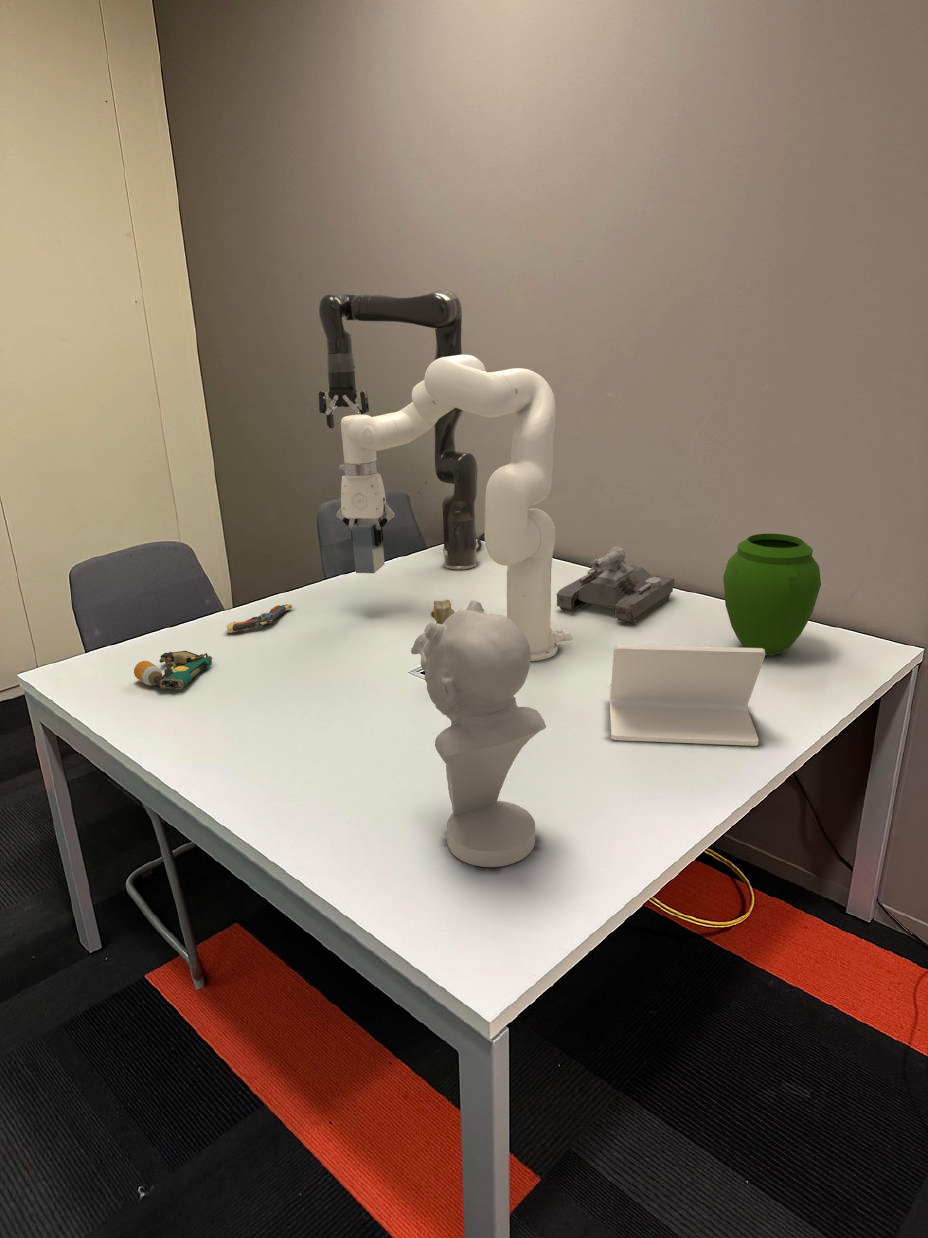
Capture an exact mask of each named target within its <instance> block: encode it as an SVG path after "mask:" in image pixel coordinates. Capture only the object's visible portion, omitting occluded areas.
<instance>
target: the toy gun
mask: <svg viewBox="0 0 928 1238" xmlns="http://www.w3.org/2000/svg"><path fill="white" fill-rule="evenodd" d="M292 608H293V604H292V603H286V604H281V605H280V604H278V605H275V606H274V607H272V608H270V610H269V612H263V613H261V614H260V615H259V616H258V615H257V616H252V617H251V618H248V619H247V620H245V621H239V622H236V621H232V622H230V623H228V624H227V625H226V628H227V632H228V633H229V634H232V633H236V632H239V631H244V630H248V629H253V628H255V627H258V626H263V625H264V626H265V625H268V624H272V623H273V622H274V621H275V620H276V619H277V618H278V617H279V616H281V615H282V614H284V613H285V612H286V611H288V610H291V609H292Z"/></svg>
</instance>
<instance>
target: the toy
mask: <svg viewBox="0 0 928 1238" xmlns="http://www.w3.org/2000/svg"><path fill="white" fill-rule="evenodd" d="M626 557H627V556H626V551H625V549H624V548H622V547H621V546H614V547H612V548H611V549H610V550H609V552H608V553H607V554H605V555H604V556H601V557H599V558H598V559H597V557H596V558H594V559H593V560H592V561H590V562H589V563H590V564H591V565H592V567H591V568H590V569H589V570H587V573H586V575H584V576H582V577H580V578H578V579H577V580H575V581H573V582H570V583H569V584H567V585H566V586H563V587H562V588H560V589H559V590H558V591H557V592H556V607H558V608H559V609H560V610H562V611H566V612H572V613H575V612H577V611H579V610H581V609H582V608H585V607H586V606H588V605H592V606H598V607H602V608H603V607H604V608H609V609H613V610H614V618H615V619H617V620H618V621H621V622H626V623H631V624H634V623H635V622H637V621H638V620H640V619H641V618H642V617H644V616H645V615H647V614H648V613H650V612H651V611H652V610H654V609H655V608H657V607H659V606H660V605H661V604H663V603H664V602H666V601H667V600H669V598H670V596H671V594H672V593H673V591H674V585H675V580H676V579H675V578H673V577H668V576H663V575H656V576H655V577H654V576H651V574H650V573H649V572H648V571H647V570H646V568H644V567H641V566H635V565H629V564H628V563H627V562H626V561H625V559H626Z"/></svg>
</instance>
